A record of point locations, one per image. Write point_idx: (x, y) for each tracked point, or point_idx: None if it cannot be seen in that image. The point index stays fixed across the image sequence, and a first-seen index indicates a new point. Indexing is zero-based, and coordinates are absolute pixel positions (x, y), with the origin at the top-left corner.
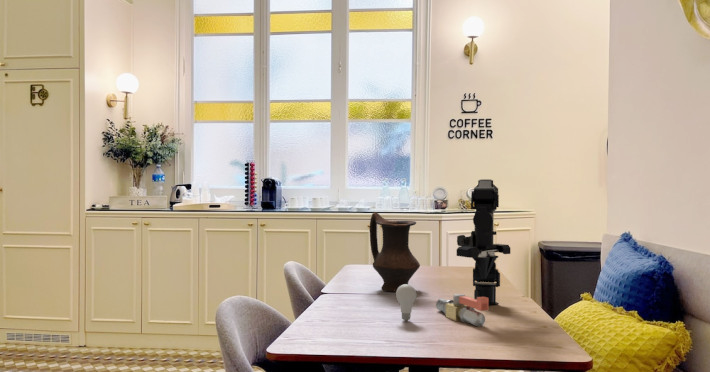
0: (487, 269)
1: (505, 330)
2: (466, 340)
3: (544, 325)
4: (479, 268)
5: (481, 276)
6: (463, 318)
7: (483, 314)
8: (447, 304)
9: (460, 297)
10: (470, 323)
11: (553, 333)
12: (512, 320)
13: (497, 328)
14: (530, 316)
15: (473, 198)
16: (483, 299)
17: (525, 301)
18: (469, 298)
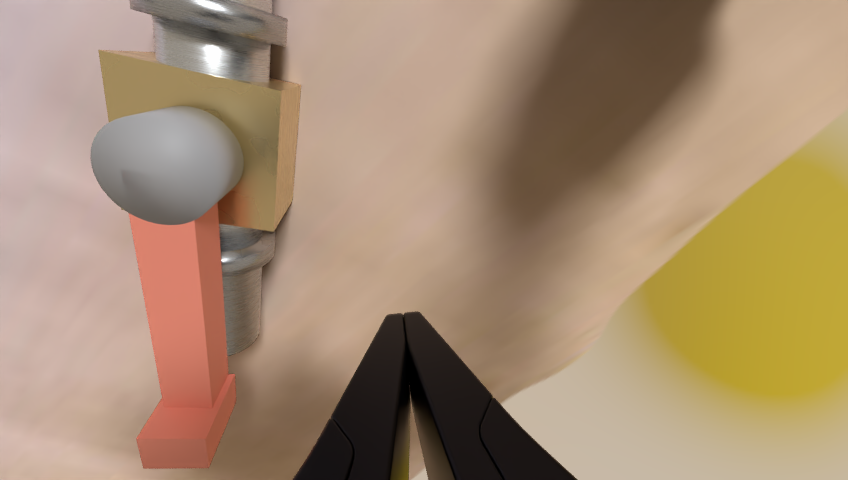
0: (426, 469)
1: (302, 383)
2: (60, 422)
3: (488, 385)
4: (338, 427)
5: (381, 329)
6: None
7: (239, 351)
8: (103, 82)
9: (135, 229)
10: None
11: (421, 448)
12: (455, 293)
13: (293, 355)
14: (582, 277)
15: None
16: (170, 460)
17: None
18: (176, 308)
